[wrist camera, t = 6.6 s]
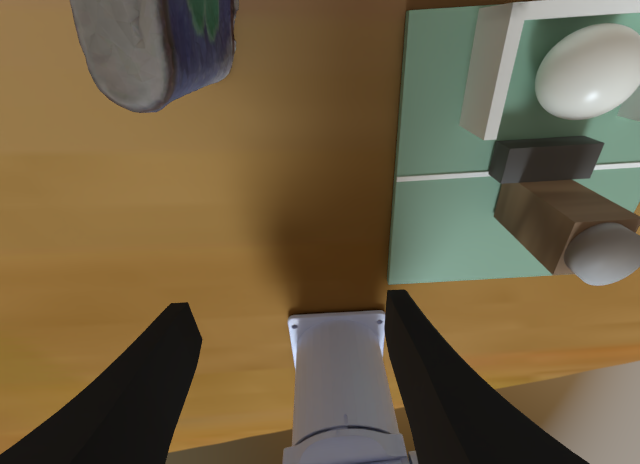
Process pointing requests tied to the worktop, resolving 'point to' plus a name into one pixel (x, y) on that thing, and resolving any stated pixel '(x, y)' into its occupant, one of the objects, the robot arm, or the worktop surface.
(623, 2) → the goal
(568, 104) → the ball
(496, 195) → the board
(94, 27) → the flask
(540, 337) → the worktop surface
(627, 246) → the kicker
